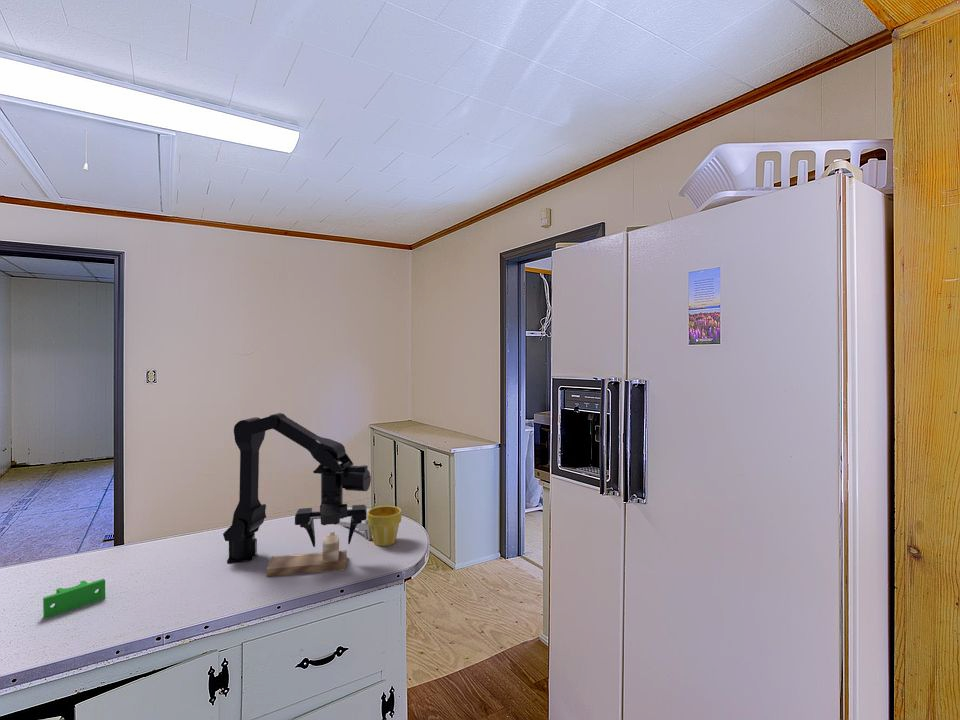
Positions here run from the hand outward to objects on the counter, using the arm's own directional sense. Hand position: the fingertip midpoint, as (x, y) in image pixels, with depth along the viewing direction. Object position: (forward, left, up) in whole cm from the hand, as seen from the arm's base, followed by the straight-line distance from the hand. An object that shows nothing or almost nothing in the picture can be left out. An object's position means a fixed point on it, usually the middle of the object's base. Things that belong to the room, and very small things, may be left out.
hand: (331, 545), depth 137 cm
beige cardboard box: (0, +1, -3) cm, 4 cm away
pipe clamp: (-57, -10, -6) cm, 58 cm away
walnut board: (-6, 0, -5) cm, 8 cm away
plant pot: (+15, +13, -6) cm, 21 cm away
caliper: (+6, +24, -6) cm, 25 cm away
